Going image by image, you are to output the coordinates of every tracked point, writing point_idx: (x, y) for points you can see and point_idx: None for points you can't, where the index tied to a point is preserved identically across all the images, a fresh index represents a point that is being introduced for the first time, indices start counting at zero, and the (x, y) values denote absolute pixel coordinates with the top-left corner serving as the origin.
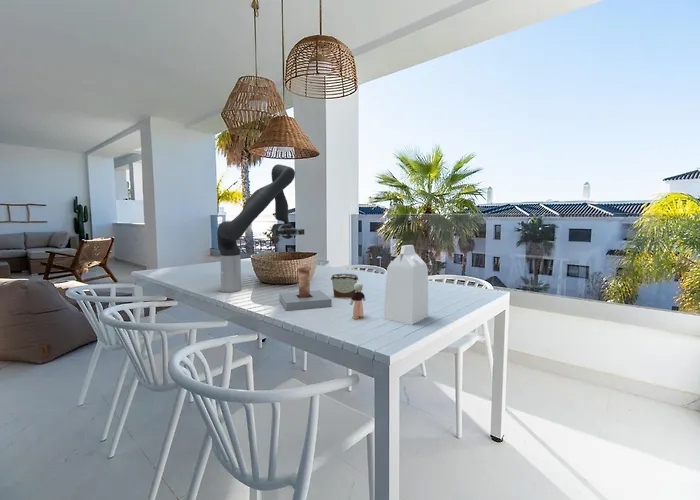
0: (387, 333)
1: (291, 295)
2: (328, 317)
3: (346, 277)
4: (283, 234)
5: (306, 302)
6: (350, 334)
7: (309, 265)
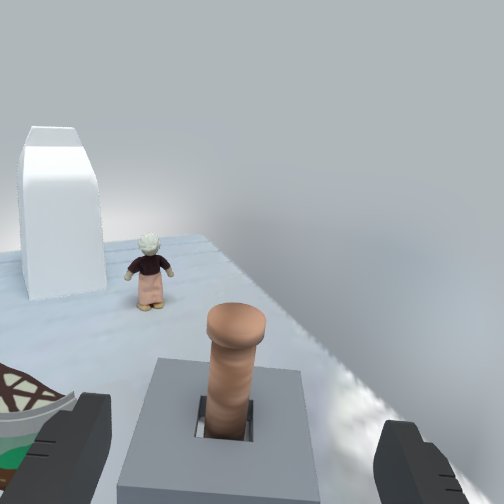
0: None
1: (271, 441)
2: None
3: (21, 372)
4: (377, 460)
5: None
6: (211, 268)
7: (210, 319)
